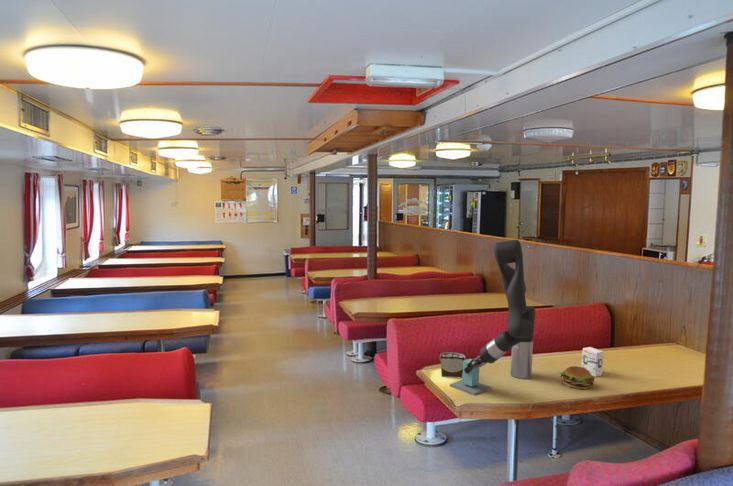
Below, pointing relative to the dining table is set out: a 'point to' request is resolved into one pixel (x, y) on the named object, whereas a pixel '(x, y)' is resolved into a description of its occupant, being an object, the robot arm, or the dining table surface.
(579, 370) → the food
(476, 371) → the teal block
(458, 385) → the grey mat
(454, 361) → the food container
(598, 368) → the ink box
